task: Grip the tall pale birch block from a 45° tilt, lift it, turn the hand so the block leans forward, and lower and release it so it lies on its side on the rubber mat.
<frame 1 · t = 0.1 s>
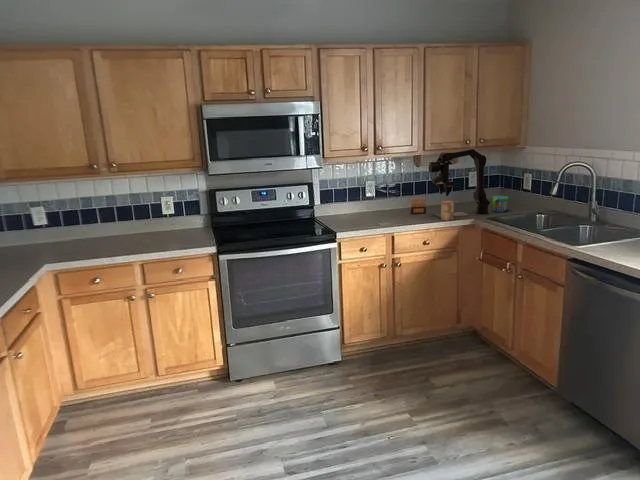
hand: (444, 195, 340), 15 cm above the counter, tool pointing down, fingers open, 9 cm apart
rubber mat: (451, 215, 345), on the counter
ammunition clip: (418, 214, 357), on the counter
birch block: (447, 219, 335), on the counter
snack cup: (499, 211, 353), on the counter
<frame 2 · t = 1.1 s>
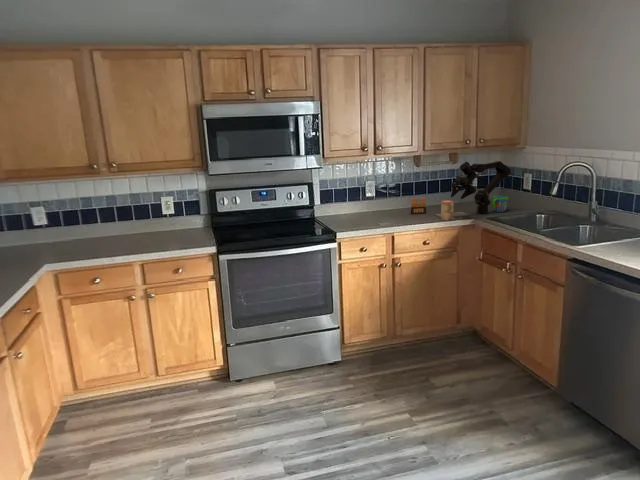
hand: (456, 197, 335), 13 cm above the counter, tool tilted 45°, fingers open, 9 cm apart
nothing on the counter moved.
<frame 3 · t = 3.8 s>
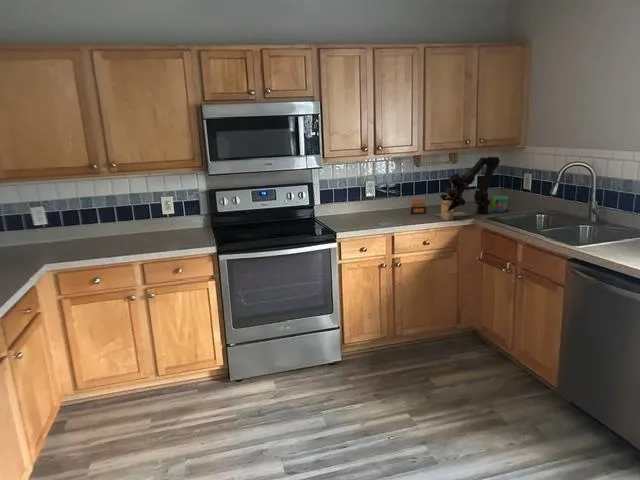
hand: (445, 209, 332), 7 cm above the counter, tool tilted 45°, fingers closed on birch block, 5 cm apart
birch block: (447, 219, 335), on the counter, touching gripper
everything else where it was.
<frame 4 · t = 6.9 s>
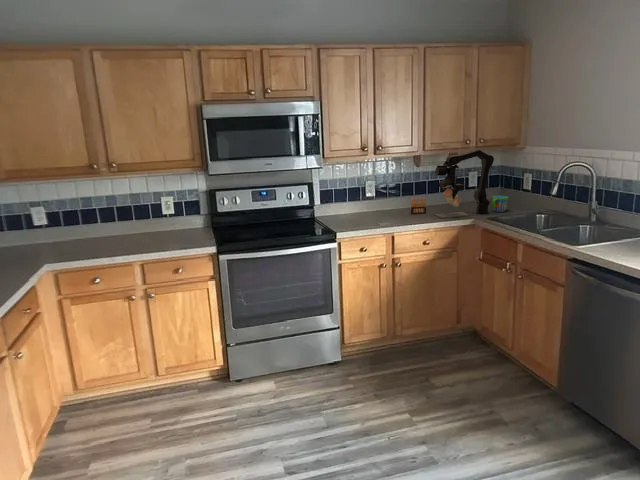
hand: (450, 198, 342), 12 cm above the counter, tool pointing down, fingers closed on birch block, 5 cm apart
birch block: (456, 203, 346), point 8 cm above the counter, tilted 44°, touching gripper
everything else where it was.
when the fingers open (7 cm above the counter, at t = 8.5 s): birch block moves 2 cm and tips over, resting on rubber mat.
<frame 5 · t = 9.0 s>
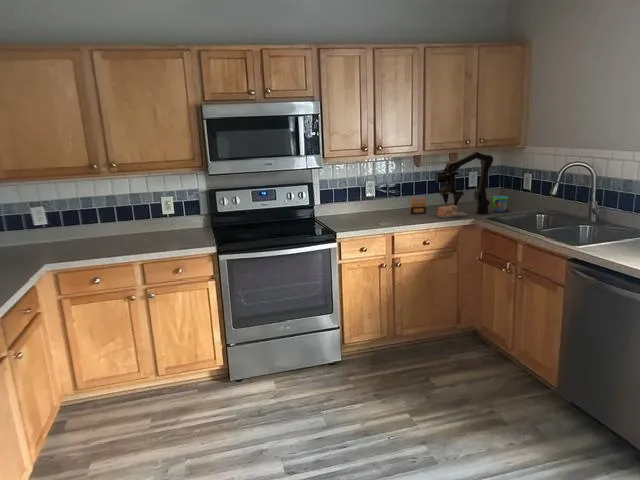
hand: (450, 204, 344), 7 cm above the counter, tool pointing down, fingers open, 9 cm apart
birch block: (454, 209, 346), point 4 cm above the counter, tilted 90°, touching rubber mat
everything else where it was.
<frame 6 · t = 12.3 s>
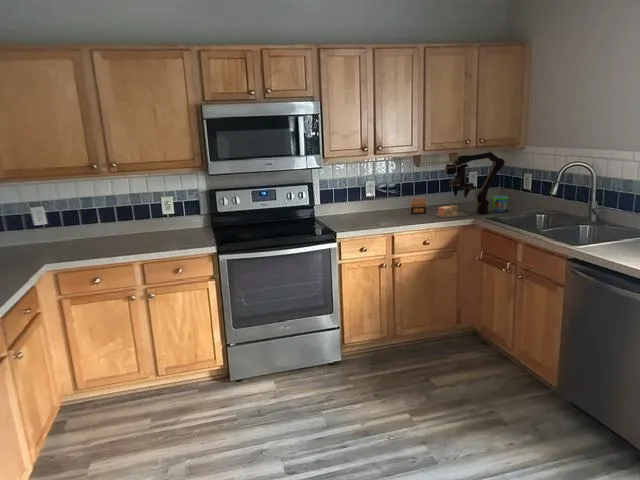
hand: (460, 196, 346), 12 cm above the counter, tool pointing down, fingers open, 9 cm apart
nothing on the counter moved.
at the end: birch block tilted 90°; birch block inside the target area (2.1 cm from its centre), point 3.5 cm above the counter; the gripper is holding nothing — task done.
